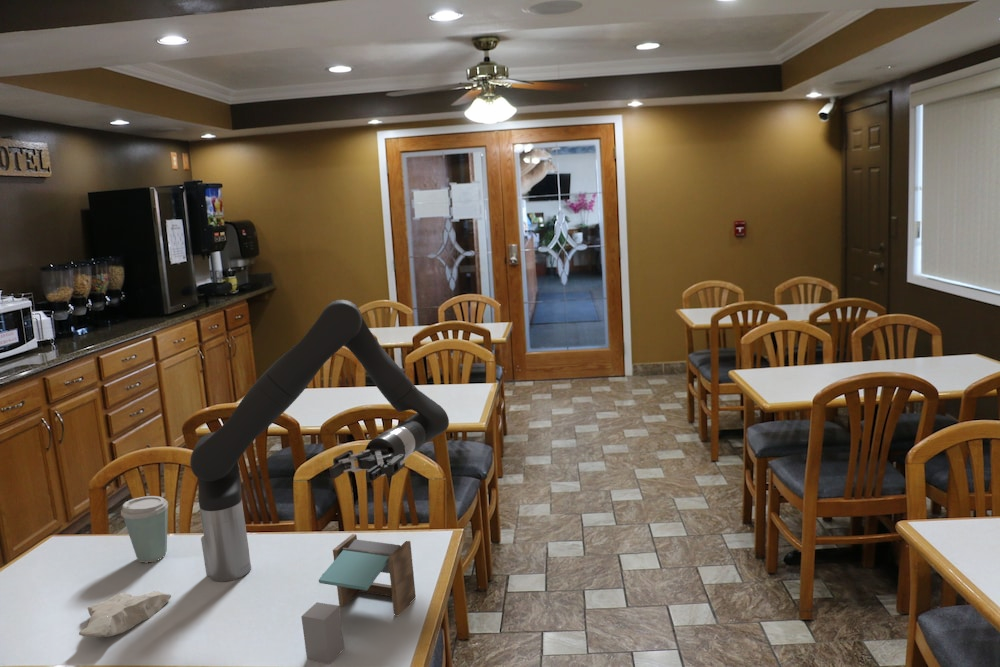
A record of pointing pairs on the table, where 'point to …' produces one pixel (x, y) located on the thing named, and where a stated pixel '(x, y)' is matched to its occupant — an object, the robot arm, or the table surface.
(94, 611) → the rock
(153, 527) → the disposable coffee cup
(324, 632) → the granite pillar
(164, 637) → the table surface
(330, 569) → the trapdoor flap
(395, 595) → the flap stand
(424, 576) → the table surface
